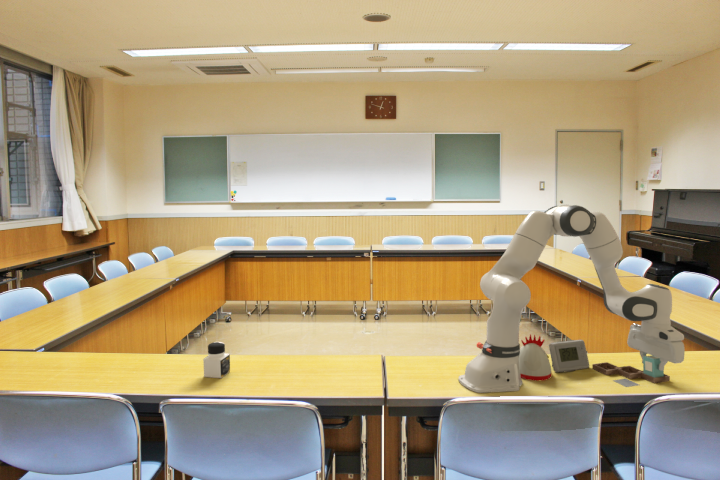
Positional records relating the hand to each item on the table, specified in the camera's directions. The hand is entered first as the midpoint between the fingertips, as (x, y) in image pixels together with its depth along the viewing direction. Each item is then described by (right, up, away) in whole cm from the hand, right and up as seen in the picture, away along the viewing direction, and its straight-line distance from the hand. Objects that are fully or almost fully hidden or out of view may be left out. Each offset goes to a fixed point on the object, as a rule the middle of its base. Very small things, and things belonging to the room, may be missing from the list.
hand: (652, 366), depth 168 cm
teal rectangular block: (0, -3, 0) cm, 3 cm away
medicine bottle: (-160, -5, +7) cm, 160 cm away
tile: (-11, -5, -3) cm, 13 cm away
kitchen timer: (-41, -5, +7) cm, 42 cm away
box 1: (-12, -4, +8) cm, 15 cm away
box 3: (+1, -5, +1) cm, 5 cm away
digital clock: (-25, -4, +11) cm, 28 cm away
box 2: (-6, -4, +4) cm, 9 cm away
